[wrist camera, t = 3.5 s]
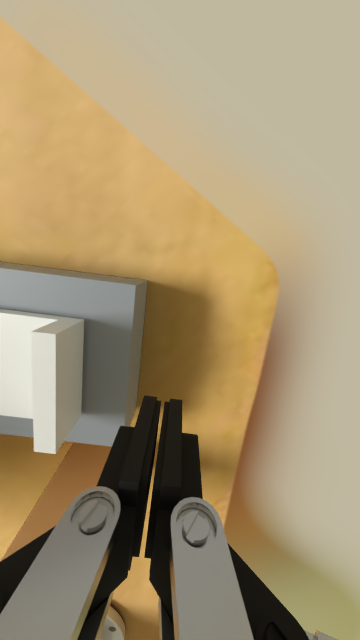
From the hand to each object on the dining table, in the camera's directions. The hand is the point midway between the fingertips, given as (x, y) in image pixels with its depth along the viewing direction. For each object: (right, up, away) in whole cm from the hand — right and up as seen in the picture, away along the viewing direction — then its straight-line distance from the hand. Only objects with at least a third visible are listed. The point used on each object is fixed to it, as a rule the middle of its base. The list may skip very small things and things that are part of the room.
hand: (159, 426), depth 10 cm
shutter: (-9, +2, +5) cm, 11 cm away
